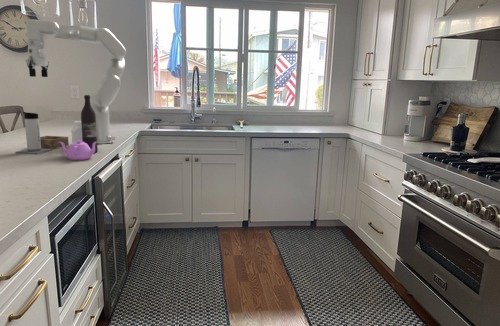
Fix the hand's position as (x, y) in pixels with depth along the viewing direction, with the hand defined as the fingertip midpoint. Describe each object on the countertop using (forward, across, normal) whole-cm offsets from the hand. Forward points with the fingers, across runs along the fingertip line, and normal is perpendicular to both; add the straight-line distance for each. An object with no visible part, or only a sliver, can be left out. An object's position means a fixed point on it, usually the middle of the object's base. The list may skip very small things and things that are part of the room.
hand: (38, 76), depth 199 cm
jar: (+38, -1, -24) cm, 45 cm away
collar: (+38, -2, -5) cm, 39 cm away
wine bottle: (+38, -12, -34) cm, 53 cm away
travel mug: (+38, -17, -6) cm, 42 cm away
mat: (+38, -17, -6) cm, 42 cm away
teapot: (+39, -26, -36) cm, 59 cm away
